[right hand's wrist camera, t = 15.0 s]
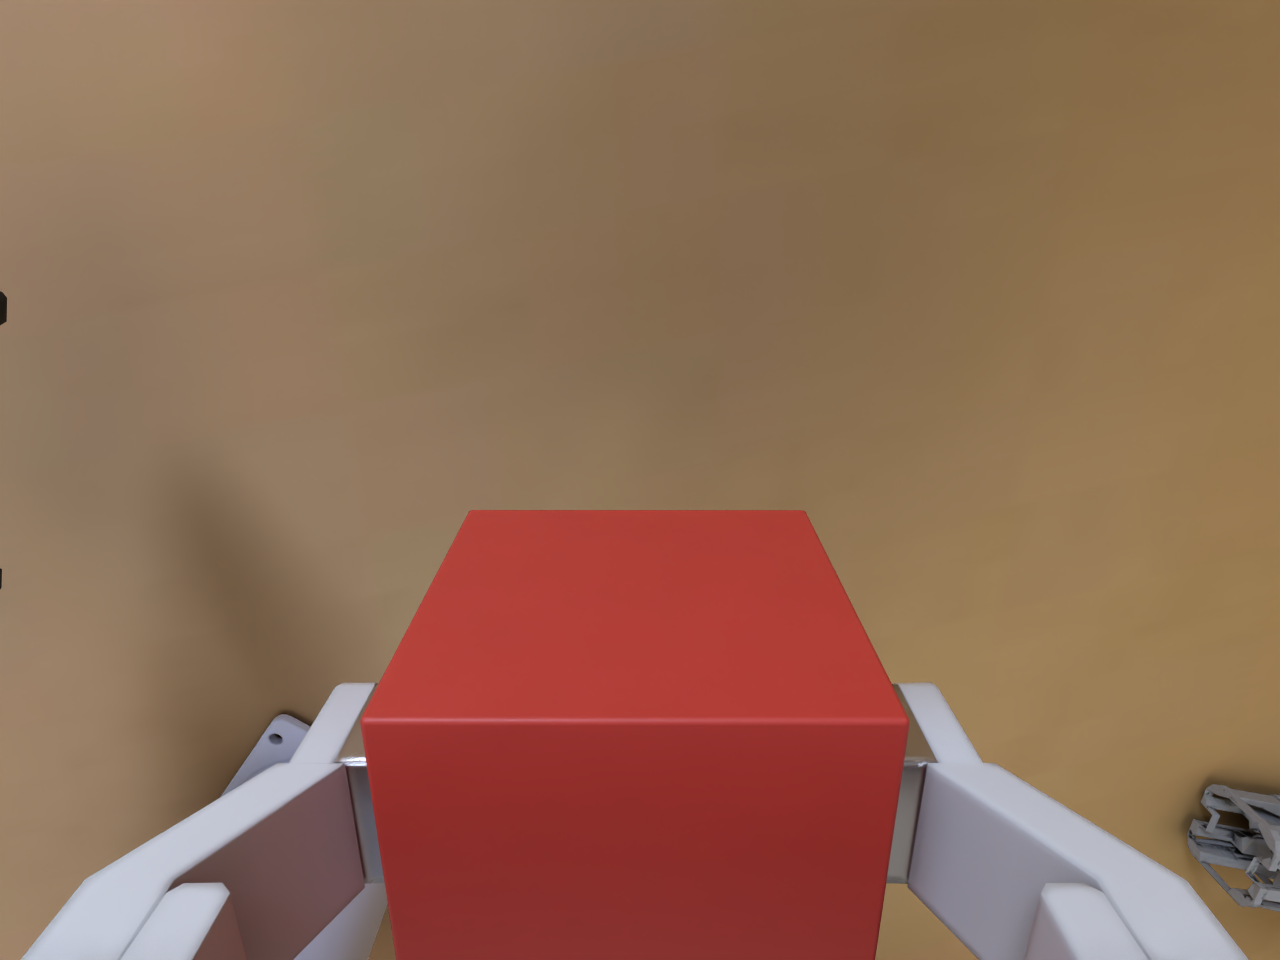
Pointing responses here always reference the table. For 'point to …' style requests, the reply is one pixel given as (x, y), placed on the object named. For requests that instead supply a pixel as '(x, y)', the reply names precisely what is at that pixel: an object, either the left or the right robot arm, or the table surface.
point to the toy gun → (1242, 843)
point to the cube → (635, 745)
